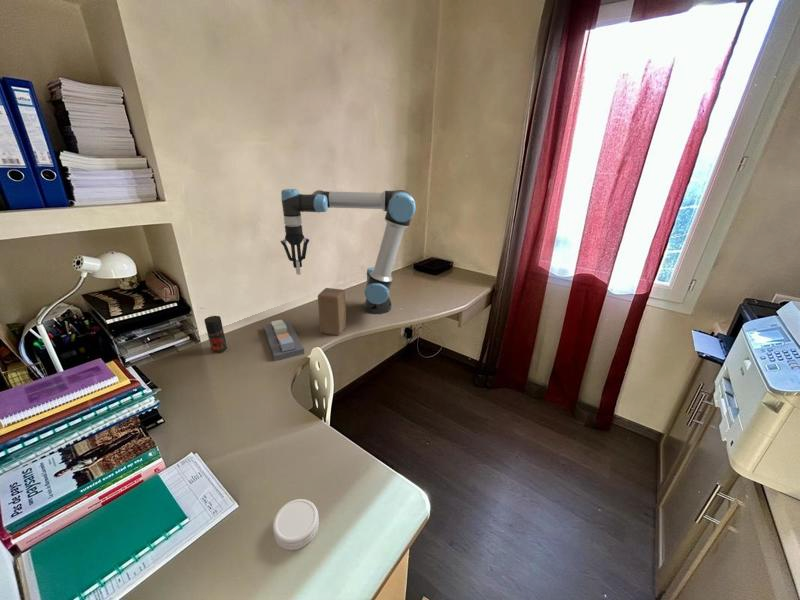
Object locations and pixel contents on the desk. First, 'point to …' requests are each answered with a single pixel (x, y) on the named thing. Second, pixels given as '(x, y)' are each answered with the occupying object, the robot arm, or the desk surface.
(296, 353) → the keypad base
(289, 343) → the key slate
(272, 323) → the key grey
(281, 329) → the key sage
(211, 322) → the deodorant
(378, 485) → the desk surface
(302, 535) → the white round container
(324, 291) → the wooden block
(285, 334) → the key terracotta
